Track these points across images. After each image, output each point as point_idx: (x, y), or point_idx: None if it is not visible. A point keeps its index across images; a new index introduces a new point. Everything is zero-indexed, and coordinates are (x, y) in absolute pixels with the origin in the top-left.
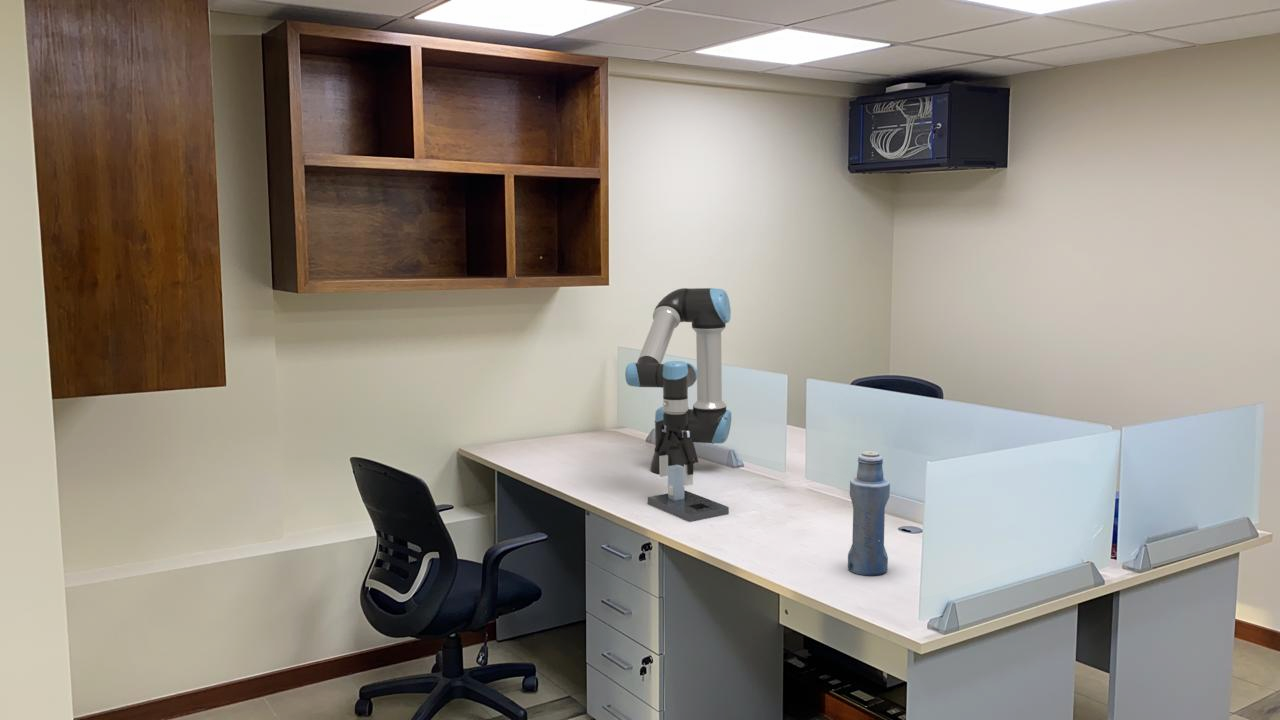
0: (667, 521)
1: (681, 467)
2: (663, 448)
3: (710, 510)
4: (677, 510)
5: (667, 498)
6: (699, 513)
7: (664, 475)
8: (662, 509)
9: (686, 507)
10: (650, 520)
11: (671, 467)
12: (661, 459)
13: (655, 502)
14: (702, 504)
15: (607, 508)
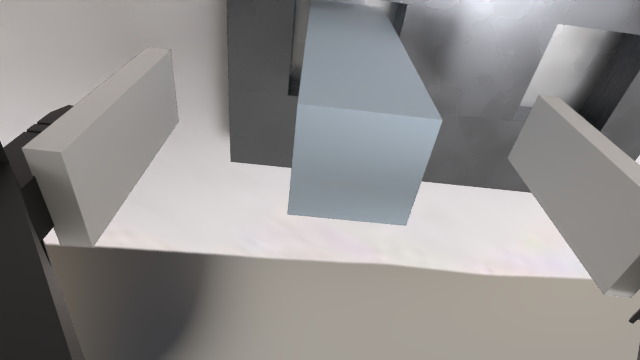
0: (469, 202)
1: (429, 151)
2: (80, 350)
3: None
4: (503, 187)
5: None
6: (637, 152)
7: (172, 89)
8: None
9: None
10: (407, 232)
11: (352, 219)
12: (109, 210)
13: None
14: (574, 25)
15: (174, 248)
